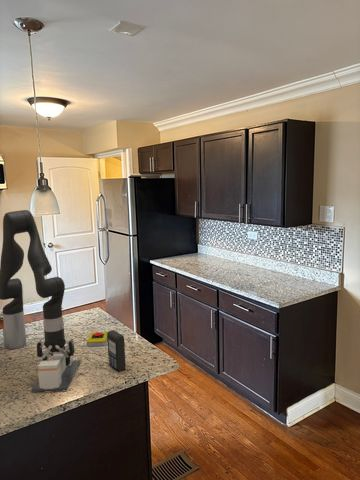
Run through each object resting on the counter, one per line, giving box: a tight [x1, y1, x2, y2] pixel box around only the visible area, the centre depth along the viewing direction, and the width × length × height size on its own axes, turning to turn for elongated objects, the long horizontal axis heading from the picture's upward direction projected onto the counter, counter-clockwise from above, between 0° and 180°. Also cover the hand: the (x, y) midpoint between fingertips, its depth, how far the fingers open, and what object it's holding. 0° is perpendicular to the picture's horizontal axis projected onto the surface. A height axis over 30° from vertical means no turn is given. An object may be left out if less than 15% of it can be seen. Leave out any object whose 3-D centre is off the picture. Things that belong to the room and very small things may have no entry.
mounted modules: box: [37, 344, 74, 388], centre depth 144 cm, size 7×21×9 cm, turn 2°
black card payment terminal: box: [106, 330, 126, 372], centre depth 150 cm, size 9×4×15 cm, turn 39°
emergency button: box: [85, 331, 108, 350], centre depth 176 cm, size 9×4×15 cm
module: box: [48, 354, 65, 376], centre depth 144 cm, size 4×6×7 cm
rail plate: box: [30, 359, 81, 393], centre depth 145 cm, size 13×22×1 cm, turn 2°
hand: (56, 365), depth 144 cm, fingers open, 8 cm apart
